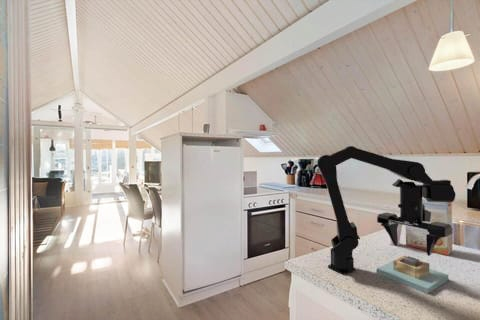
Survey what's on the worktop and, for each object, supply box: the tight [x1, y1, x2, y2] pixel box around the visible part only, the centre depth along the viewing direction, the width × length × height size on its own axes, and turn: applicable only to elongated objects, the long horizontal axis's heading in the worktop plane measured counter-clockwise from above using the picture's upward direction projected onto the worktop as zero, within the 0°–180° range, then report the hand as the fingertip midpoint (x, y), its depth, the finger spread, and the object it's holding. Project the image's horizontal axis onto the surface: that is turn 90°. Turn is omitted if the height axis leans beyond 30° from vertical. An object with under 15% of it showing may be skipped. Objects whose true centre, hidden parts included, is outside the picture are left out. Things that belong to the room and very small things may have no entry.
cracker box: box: [405, 196, 453, 256], centre depth 96 cm, size 14×6×21 cm, turn 34°
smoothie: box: [387, 211, 404, 247], centre depth 102 cm, size 6×6×14 cm
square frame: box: [392, 255, 430, 279], centre depth 75 cm, size 7×7×3 cm
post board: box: [376, 255, 449, 295], centre depth 75 cm, size 14×14×6 cm
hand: (411, 250), depth 75 cm, fingers open, 9 cm apart
